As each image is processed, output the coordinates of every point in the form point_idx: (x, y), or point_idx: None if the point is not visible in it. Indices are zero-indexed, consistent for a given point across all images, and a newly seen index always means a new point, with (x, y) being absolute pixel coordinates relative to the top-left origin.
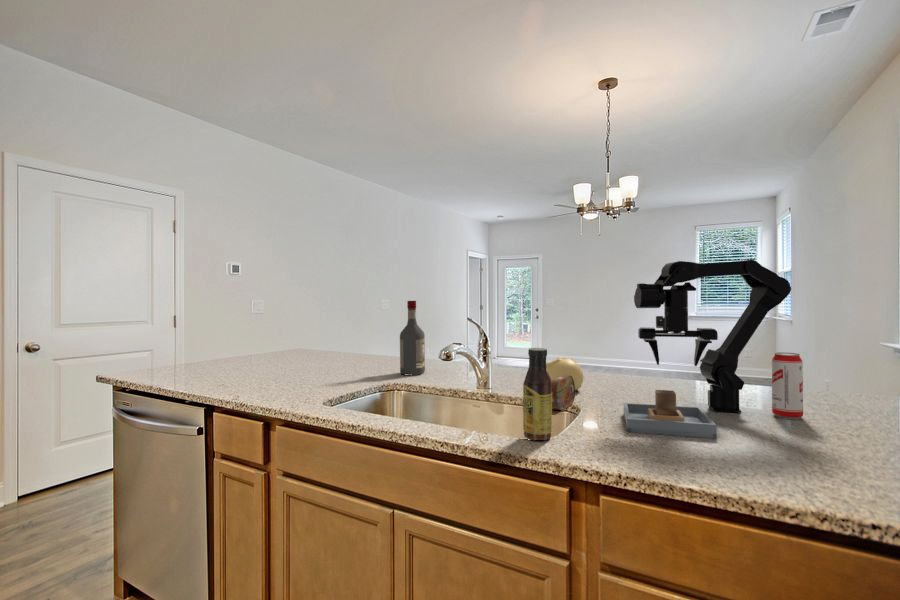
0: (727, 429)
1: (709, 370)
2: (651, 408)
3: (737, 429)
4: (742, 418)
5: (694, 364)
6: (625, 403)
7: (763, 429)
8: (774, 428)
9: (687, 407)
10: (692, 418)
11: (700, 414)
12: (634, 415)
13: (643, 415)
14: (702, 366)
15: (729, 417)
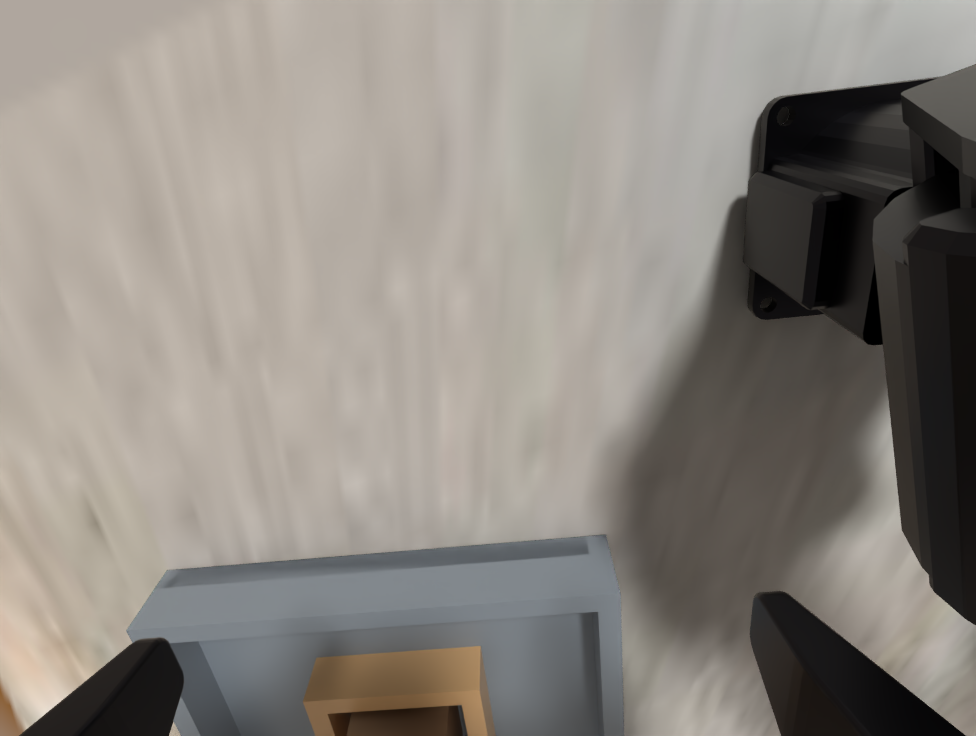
0: (701, 661)
1: (942, 550)
2: (322, 701)
3: (752, 648)
4: (882, 433)
5: (760, 624)
6: None
7: (890, 612)
8: None
9: (534, 615)
10: (551, 628)
11: (597, 655)
12: (244, 664)
13: (290, 651)
14: (955, 354)
15: (803, 435)
